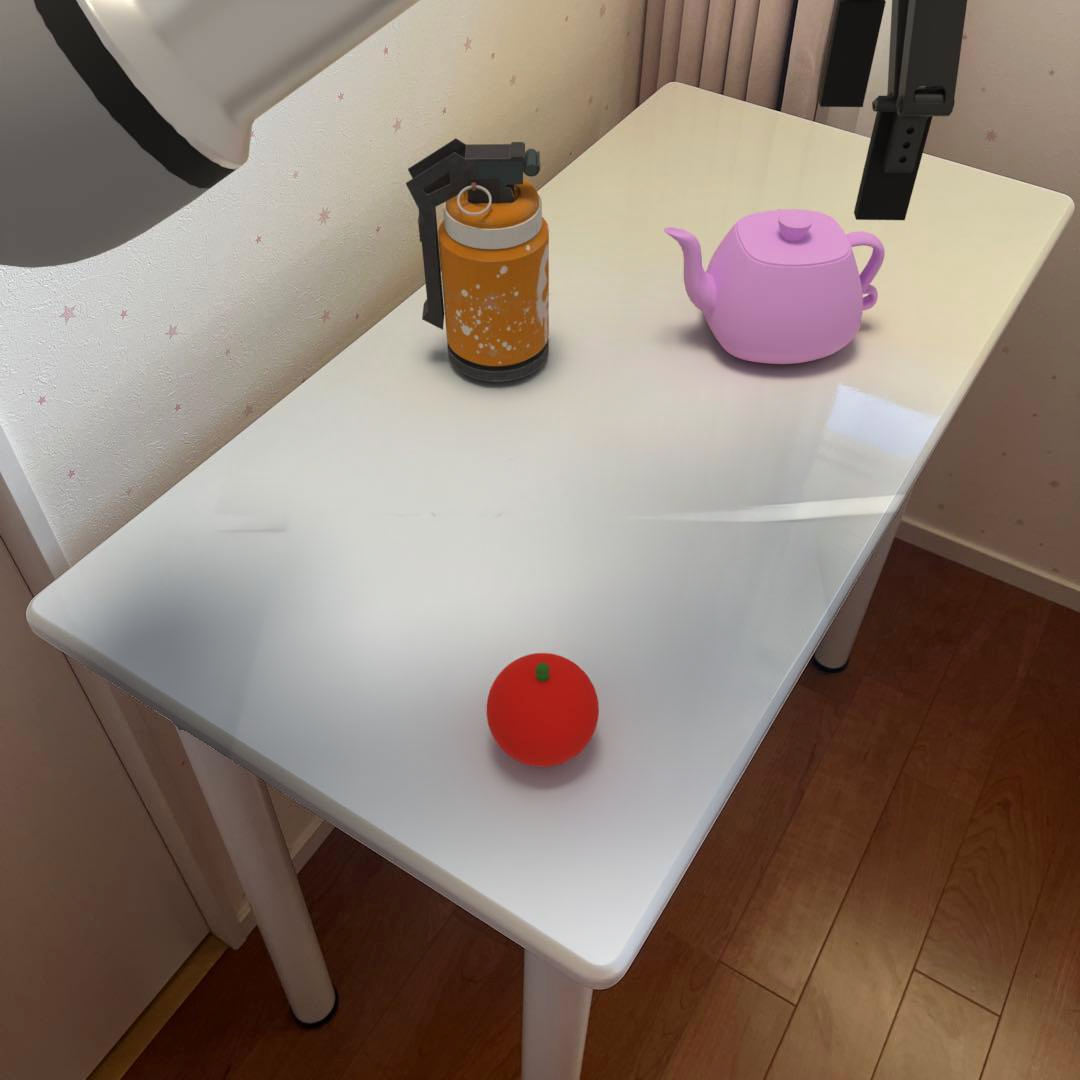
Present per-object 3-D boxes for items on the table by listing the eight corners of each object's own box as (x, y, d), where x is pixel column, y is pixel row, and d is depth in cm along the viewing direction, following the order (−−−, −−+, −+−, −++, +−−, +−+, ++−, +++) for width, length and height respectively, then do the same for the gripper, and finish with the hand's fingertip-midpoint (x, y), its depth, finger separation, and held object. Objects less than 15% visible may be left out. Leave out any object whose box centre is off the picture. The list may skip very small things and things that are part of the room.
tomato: (485, 786, 69) (479, 713, 63) (491, 694, 74) (487, 618, 68) (597, 789, 69) (602, 716, 63) (596, 696, 74) (600, 620, 68)
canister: (549, 387, 96) (549, 174, 81) (421, 388, 96) (398, 175, 81) (548, 325, 102) (548, 116, 87) (428, 326, 102) (408, 117, 87)
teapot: (847, 284, 106) (873, 170, 97) (892, 370, 97) (926, 254, 88) (642, 298, 105) (650, 184, 96) (668, 387, 96) (680, 270, 87)
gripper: (1127, -200, 42) (970, 274, 58) (971, -328, 59) (882, 66, 75) (930, -201, 42) (826, 272, 58) (831, -328, 59) (771, 65, 75)
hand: (858, 157), depth 66 cm, fingers open, 13 cm apart
